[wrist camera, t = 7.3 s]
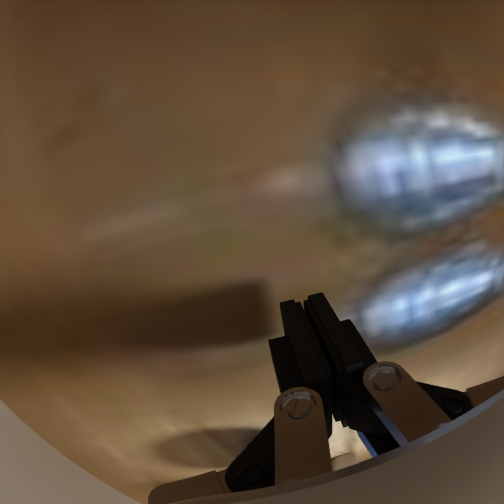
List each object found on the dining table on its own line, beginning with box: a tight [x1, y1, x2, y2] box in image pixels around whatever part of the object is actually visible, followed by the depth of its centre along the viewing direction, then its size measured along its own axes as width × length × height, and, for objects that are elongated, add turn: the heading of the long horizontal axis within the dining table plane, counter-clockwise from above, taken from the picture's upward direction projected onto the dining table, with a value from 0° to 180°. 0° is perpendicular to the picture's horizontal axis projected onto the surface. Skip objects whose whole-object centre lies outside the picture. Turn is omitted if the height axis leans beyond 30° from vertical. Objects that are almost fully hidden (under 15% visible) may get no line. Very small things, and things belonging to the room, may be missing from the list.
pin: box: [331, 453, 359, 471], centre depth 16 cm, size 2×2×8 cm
